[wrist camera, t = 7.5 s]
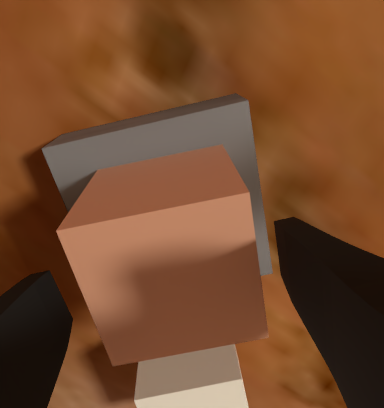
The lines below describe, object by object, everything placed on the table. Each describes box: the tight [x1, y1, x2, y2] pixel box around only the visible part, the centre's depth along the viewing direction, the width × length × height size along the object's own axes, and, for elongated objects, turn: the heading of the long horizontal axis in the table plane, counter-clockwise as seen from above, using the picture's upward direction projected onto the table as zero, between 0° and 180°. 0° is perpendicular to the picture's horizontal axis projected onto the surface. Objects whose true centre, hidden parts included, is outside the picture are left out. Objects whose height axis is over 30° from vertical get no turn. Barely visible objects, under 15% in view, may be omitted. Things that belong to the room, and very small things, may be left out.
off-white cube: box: [134, 344, 249, 408], centre depth 18 cm, size 5×5×5 cm
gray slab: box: [42, 94, 273, 276], centre depth 15 cm, size 8×8×3 cm
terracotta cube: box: [56, 144, 269, 366], centre depth 12 cm, size 5×5×5 cm
